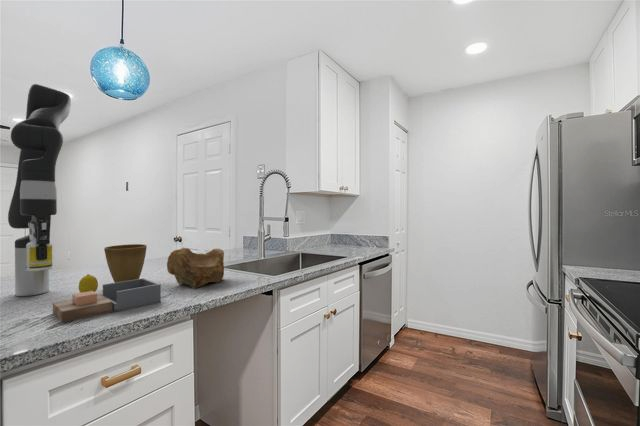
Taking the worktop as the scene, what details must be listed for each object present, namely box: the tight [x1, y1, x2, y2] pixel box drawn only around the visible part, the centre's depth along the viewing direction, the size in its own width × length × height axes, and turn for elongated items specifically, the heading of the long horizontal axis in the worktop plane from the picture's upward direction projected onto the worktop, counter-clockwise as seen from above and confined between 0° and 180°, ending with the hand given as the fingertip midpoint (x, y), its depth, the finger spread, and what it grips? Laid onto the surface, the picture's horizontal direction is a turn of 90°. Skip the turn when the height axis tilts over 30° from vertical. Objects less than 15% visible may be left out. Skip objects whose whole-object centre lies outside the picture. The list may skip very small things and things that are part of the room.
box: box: [100, 278, 162, 313], centre depth 104 cm, size 14×14×6 cm
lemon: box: [78, 273, 99, 293], centre depth 111 cm, size 6×6×8 cm
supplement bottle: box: [26, 234, 53, 271], centre depth 86 cm, size 5×5×10 cm
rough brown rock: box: [166, 247, 225, 289], centre depth 129 cm, size 23×17×15 cm
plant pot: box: [103, 243, 148, 283], centre depth 128 cm, size 15×15×16 cm
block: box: [71, 291, 98, 306], centre depth 94 cm, size 5×5×2 cm
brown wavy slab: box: [52, 294, 113, 323], centre depth 94 cm, size 12×12×3 cm
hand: (39, 258), depth 86 cm, fingers closed on supplement bottle, 5 cm apart
